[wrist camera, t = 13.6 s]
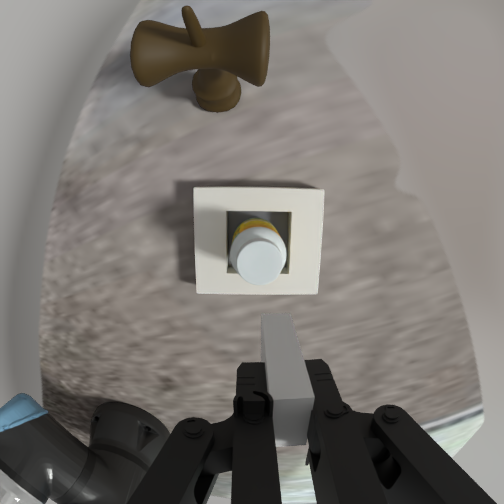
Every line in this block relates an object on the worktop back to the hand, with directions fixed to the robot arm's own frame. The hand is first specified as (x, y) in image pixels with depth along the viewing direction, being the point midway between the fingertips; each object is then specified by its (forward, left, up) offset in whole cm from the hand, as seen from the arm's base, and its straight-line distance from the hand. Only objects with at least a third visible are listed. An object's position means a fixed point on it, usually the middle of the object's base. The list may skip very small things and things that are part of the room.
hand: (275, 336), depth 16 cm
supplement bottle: (-1, +1, -20) cm, 20 cm away
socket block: (0, +1, -21) cm, 21 cm away
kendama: (-5, +18, -21) cm, 28 cm away
